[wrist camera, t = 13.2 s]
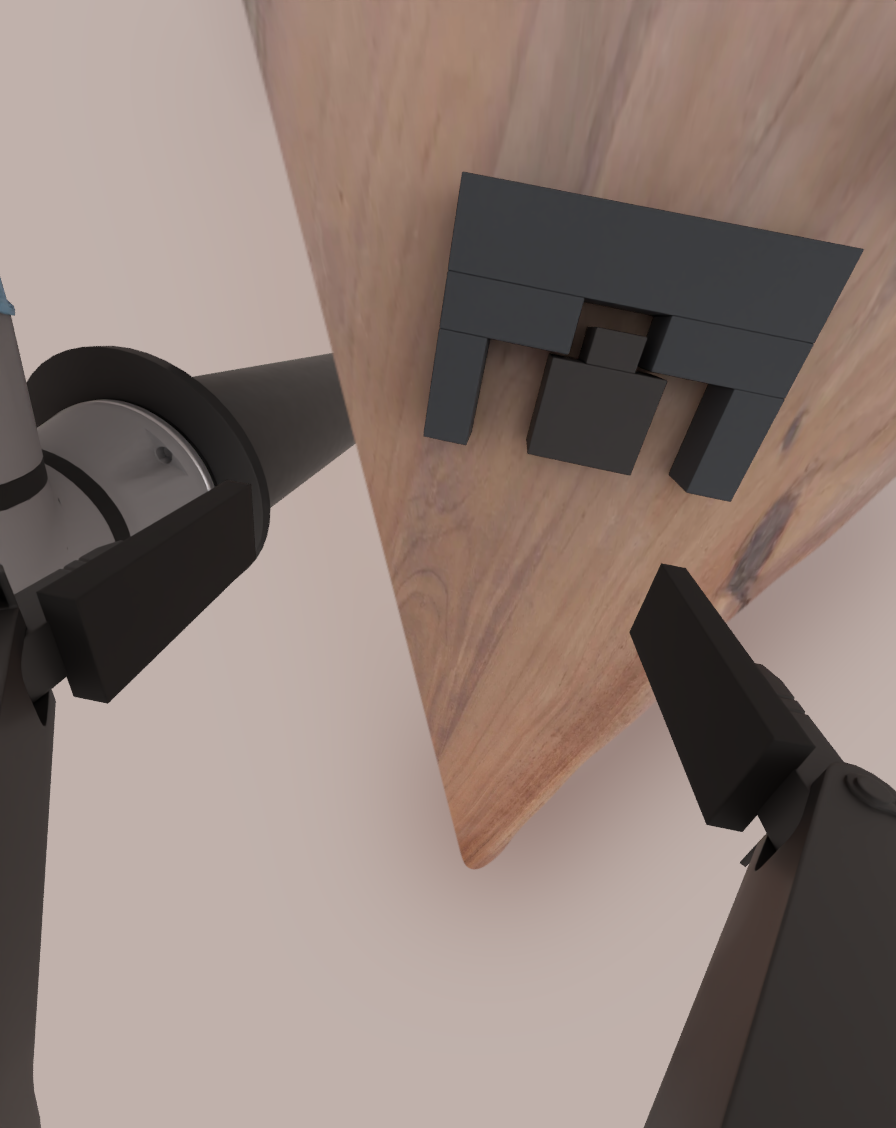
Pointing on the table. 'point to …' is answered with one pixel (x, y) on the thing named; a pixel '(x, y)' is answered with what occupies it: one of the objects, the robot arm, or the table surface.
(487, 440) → the table surface
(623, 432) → the black block
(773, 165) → the table surface
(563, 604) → the table surface
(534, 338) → the pad base
